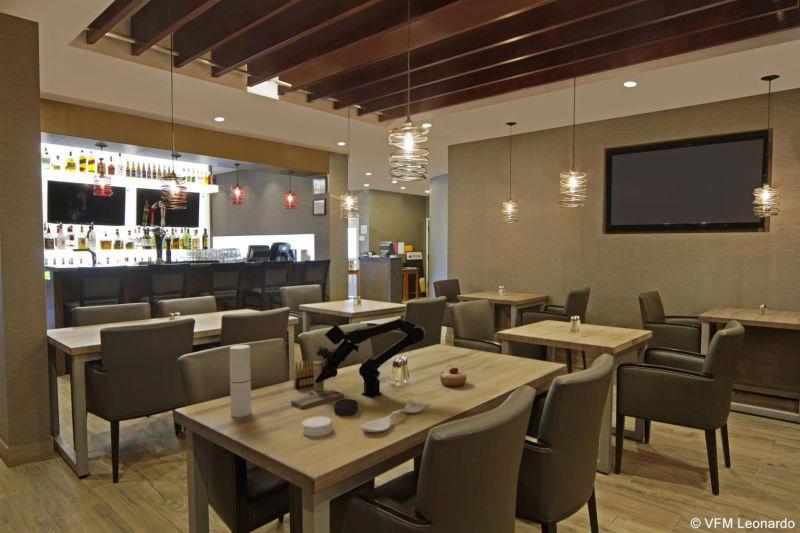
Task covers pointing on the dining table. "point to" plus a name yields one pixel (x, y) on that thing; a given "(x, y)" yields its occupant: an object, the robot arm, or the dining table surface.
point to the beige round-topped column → (317, 370)
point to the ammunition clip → (304, 375)
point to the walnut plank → (317, 399)
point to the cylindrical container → (240, 380)
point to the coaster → (317, 426)
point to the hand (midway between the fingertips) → (315, 380)
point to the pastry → (453, 377)
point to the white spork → (386, 421)
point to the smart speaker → (346, 407)
